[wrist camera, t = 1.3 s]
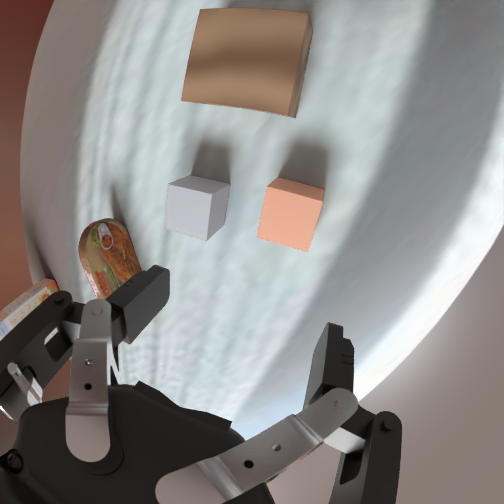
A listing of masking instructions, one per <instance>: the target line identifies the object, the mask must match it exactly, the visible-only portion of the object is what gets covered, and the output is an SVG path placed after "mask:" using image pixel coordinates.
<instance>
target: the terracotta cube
mask: <svg viewBox="0 0 504 504" xmlns="http://www.w3.org/2000/svg"><path fill="white" fill-rule="evenodd" d="M324 191H325V190H324V189H320V188H317V187H313V186H310V185H306V184H302V183H299V182H295V181H291V180H287V179H284V178H280V177H277V178H276V179H275V180H274V181H273V182H272V183H270V184H269V185H268V186H267V189H266V194H265V199H264V204H263V209H262V214H261V219H260V223H259V228H258V233H257V237H258V238H261V239H265V240H268V241H272V242H275V243H278V244H282V245H285V246H289V247H292V248H295V249H299V250H302V251H305V252H308V251H309V248H310V244H311V241H312V238H313V234H314V231H315V228H316V224H317V221H318V217H319V214H320V210H321V207H322V203H323V197H324Z"/></svg>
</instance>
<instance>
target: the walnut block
mask: <svg viewBox="0 0 504 504" xmlns="http://www.w3.org/2000/svg"><path fill="white" fill-rule="evenodd" d="M312 34H313V30H312V27H311V23H310V19H309V15H308V13H302V12H294V11H285V10H274V9H259V8H214V9H200V12H199V16H198V20H197V24H196V28H195V32H194V37H193V41H192V45H191V50H190V55H189V60H188V65H187V70H186V75H185V80H184V86H183V92H182V98H181V101H186V102H194V103H202V104H212V105H221V106H229V107H236V108H243V109H250V110H256V111H262V112H268V113H273V114H278V115H283V116H288V117H293V118H296V113H297V108H298V103H299V99H300V94H301V89H302V84H303V79H304V74H305V69H306V64H307V59H308V54H309V49H310V44H311V39H312Z"/></svg>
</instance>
